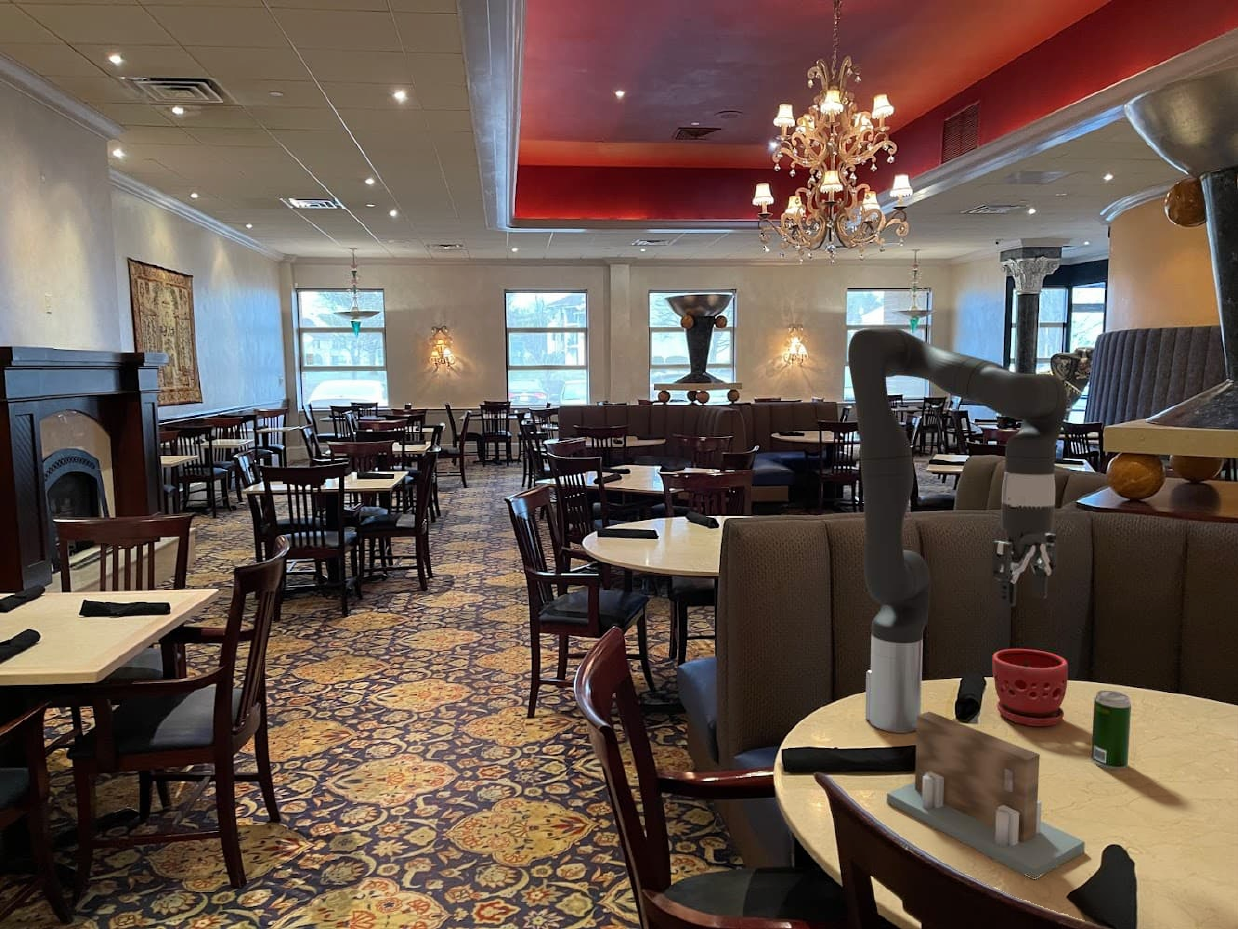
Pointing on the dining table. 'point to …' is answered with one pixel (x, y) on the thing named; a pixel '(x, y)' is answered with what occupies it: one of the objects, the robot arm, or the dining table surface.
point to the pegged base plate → (989, 829)
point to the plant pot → (1030, 686)
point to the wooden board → (978, 771)
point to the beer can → (1111, 730)
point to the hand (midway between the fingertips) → (1023, 601)
